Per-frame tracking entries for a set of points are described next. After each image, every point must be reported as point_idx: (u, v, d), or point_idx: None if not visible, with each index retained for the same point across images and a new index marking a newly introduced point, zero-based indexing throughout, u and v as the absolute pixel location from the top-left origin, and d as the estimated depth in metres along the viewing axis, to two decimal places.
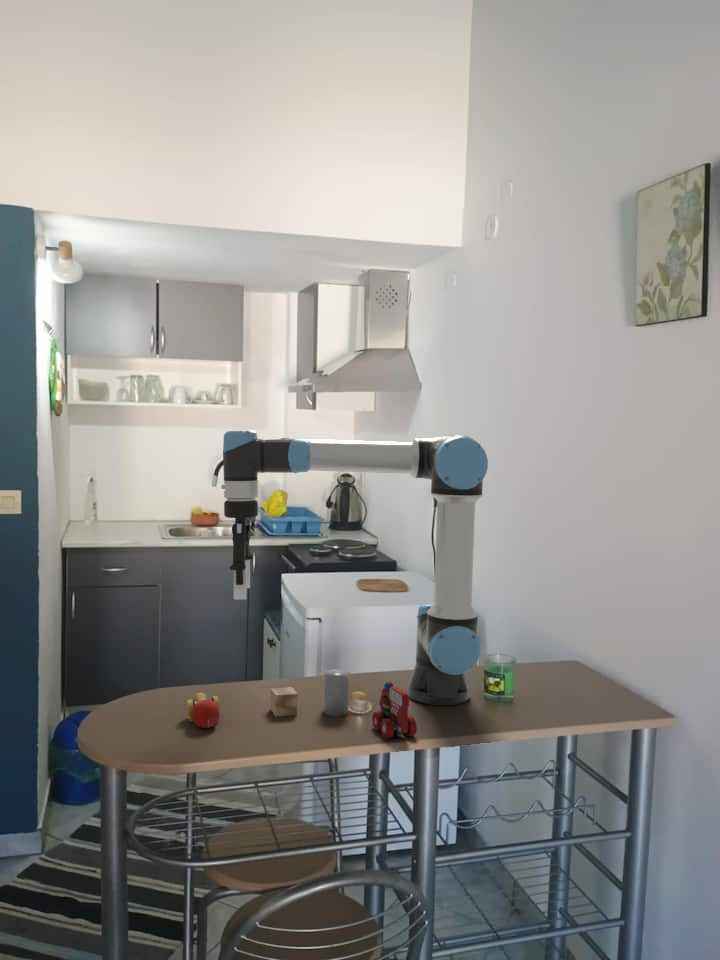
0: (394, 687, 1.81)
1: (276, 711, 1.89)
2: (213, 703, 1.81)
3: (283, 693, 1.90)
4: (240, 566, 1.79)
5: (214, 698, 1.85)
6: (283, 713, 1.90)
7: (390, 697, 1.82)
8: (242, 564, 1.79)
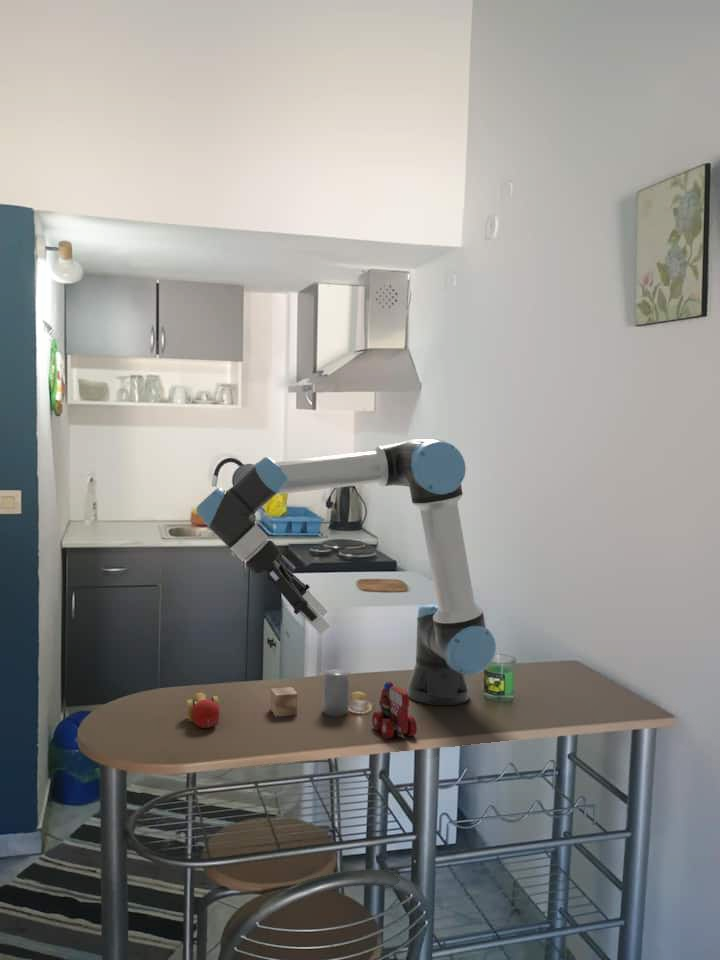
0: (394, 687, 1.81)
1: (276, 711, 1.89)
2: (213, 703, 1.81)
3: (283, 693, 1.90)
4: (301, 605, 1.69)
5: (214, 698, 1.85)
6: (283, 713, 1.90)
7: (390, 697, 1.82)
8: (301, 602, 1.69)
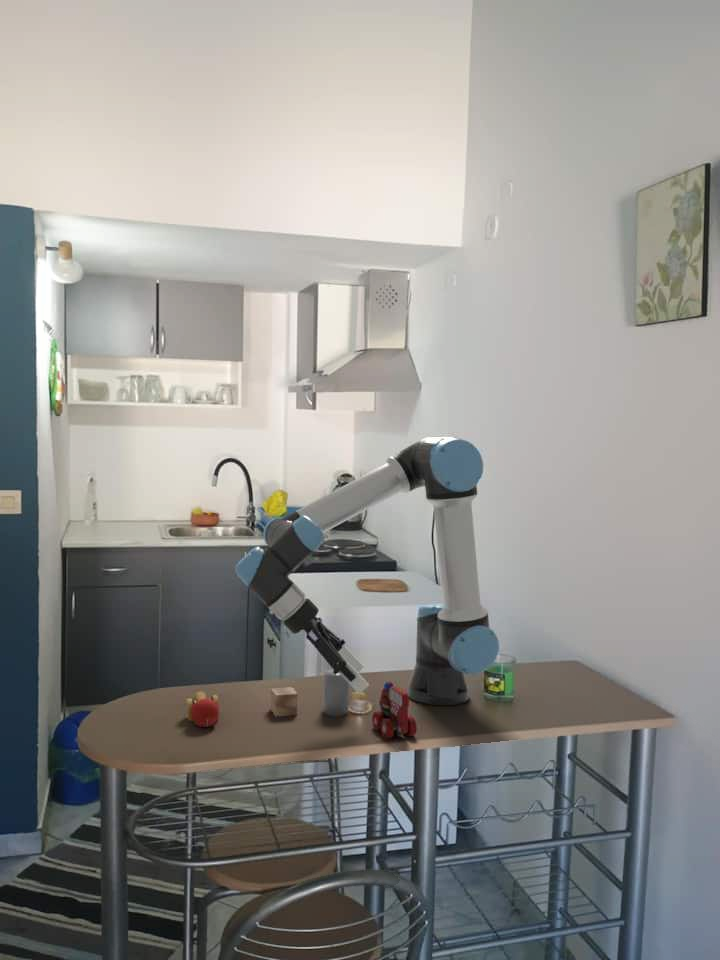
0: (394, 687, 1.81)
1: (276, 711, 1.89)
2: (212, 702, 1.81)
3: (283, 693, 1.90)
4: (341, 666, 1.70)
5: (213, 697, 1.86)
6: (283, 713, 1.90)
7: (390, 697, 1.82)
8: (341, 663, 1.70)
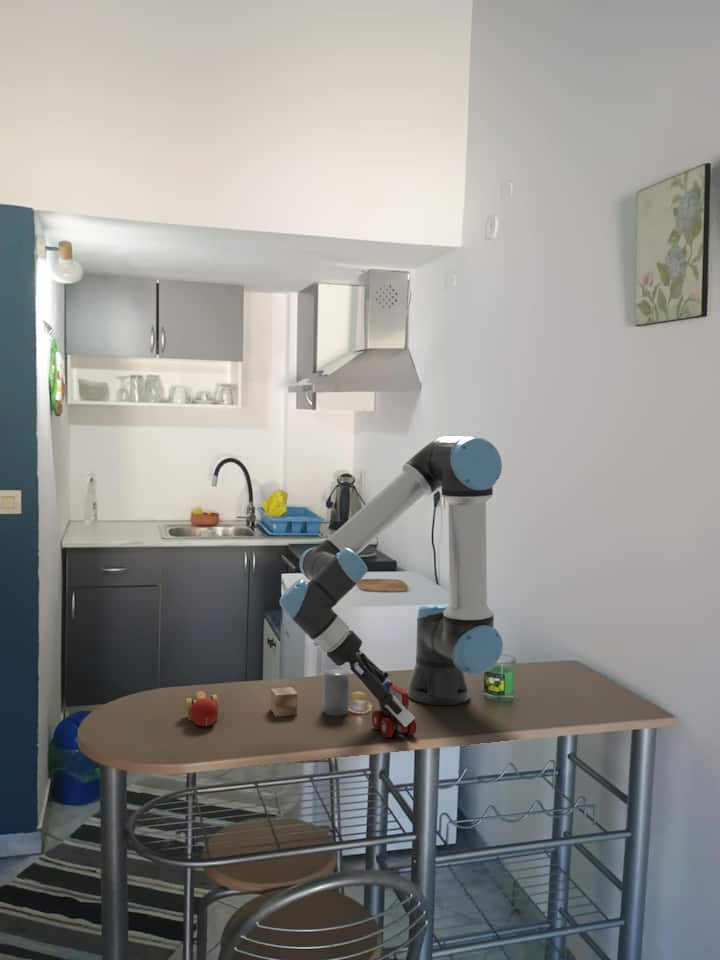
0: (394, 686, 1.81)
1: (276, 711, 1.89)
2: (211, 701, 1.82)
3: (283, 693, 1.90)
4: (388, 700, 1.72)
5: (213, 697, 1.86)
6: (283, 713, 1.90)
7: None
8: (388, 697, 1.72)
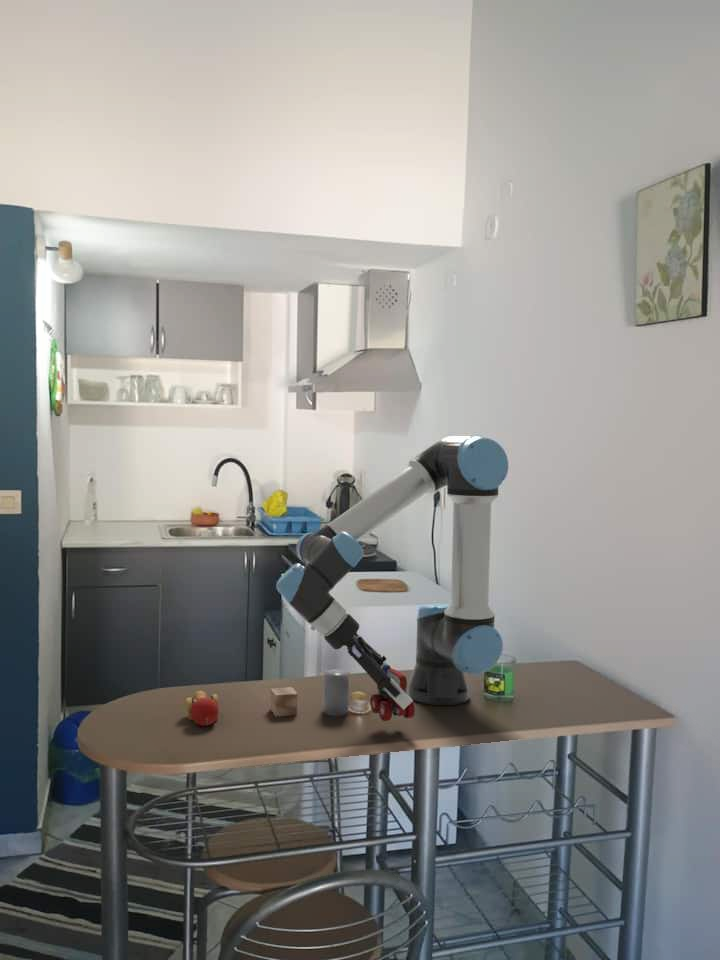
0: (392, 669, 1.81)
1: (276, 711, 1.89)
2: (212, 701, 1.82)
3: (283, 693, 1.90)
4: (386, 682, 1.72)
5: (213, 696, 1.86)
6: (283, 713, 1.90)
7: None
8: (386, 680, 1.72)
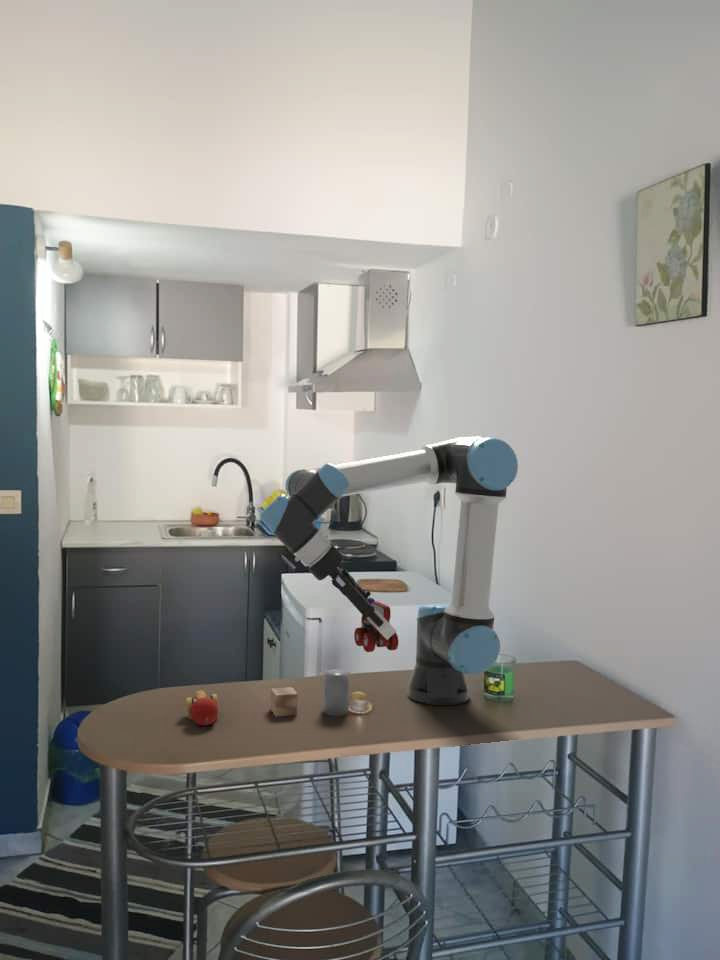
0: (376, 602, 1.81)
1: (276, 711, 1.89)
2: (211, 701, 1.82)
3: (283, 693, 1.90)
4: (369, 611, 1.71)
5: (213, 696, 1.86)
6: (283, 713, 1.90)
7: None
8: (370, 608, 1.71)
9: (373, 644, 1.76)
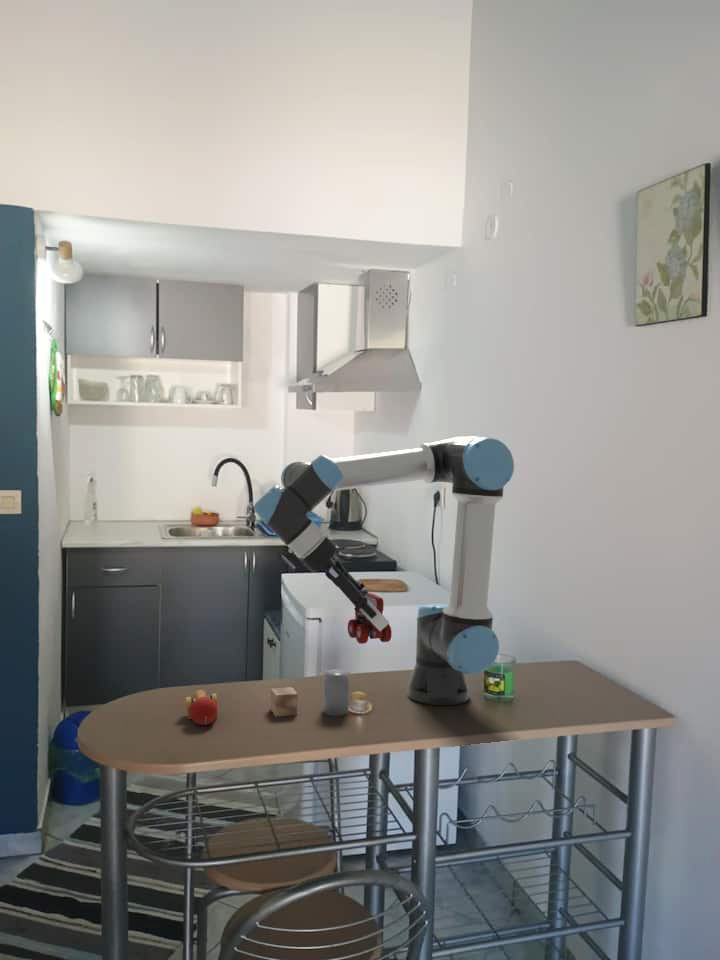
0: (369, 593, 1.81)
1: (276, 711, 1.89)
2: (211, 700, 1.82)
3: (283, 693, 1.90)
4: (362, 602, 1.71)
5: (212, 695, 1.87)
6: (283, 713, 1.90)
7: None
8: (362, 599, 1.71)
9: (366, 635, 1.76)
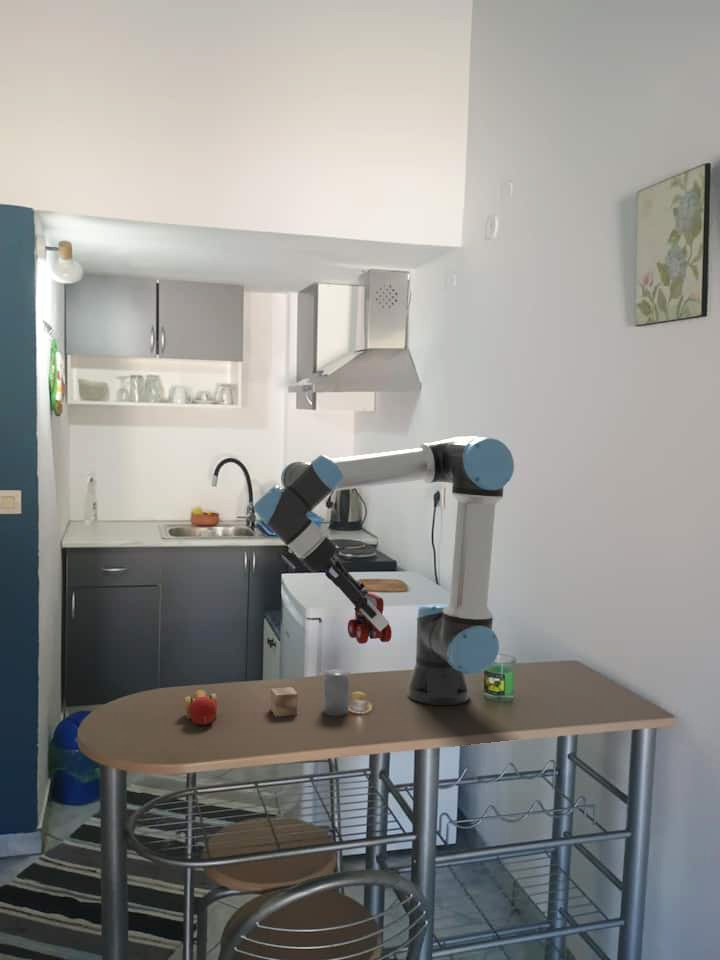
0: (369, 593, 1.81)
1: (276, 711, 1.89)
2: (210, 700, 1.83)
3: (283, 693, 1.90)
4: (362, 602, 1.71)
5: (212, 695, 1.87)
6: (283, 713, 1.90)
7: None
8: (362, 599, 1.71)
9: (366, 635, 1.76)
